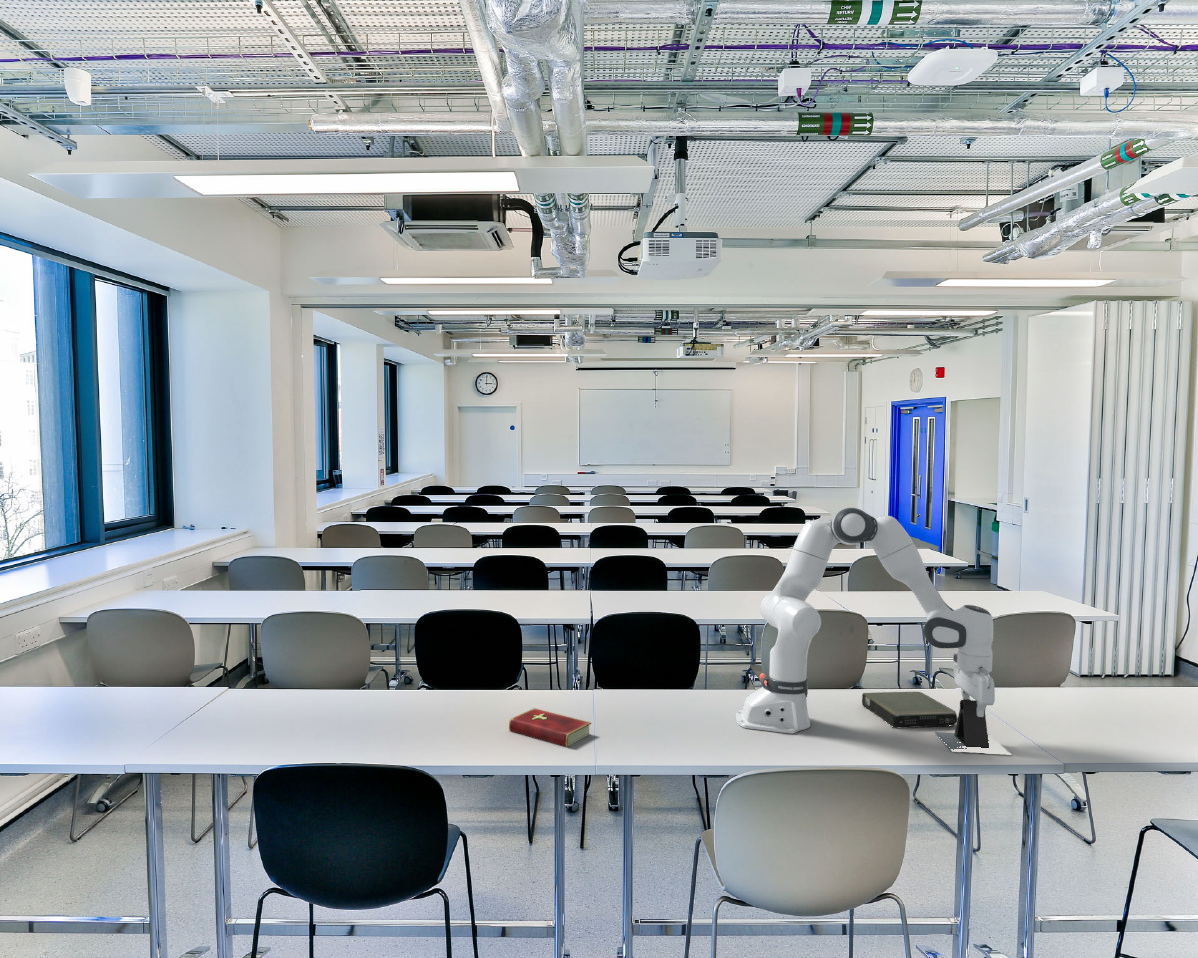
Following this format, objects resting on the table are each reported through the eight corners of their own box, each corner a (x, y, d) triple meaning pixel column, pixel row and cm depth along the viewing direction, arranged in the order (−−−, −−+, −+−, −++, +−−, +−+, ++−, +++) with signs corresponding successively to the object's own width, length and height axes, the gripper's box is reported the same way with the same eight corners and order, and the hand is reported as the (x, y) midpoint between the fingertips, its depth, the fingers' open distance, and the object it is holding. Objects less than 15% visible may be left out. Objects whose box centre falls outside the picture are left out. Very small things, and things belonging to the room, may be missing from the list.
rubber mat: (952, 752, 209) (952, 750, 209) (934, 733, 223) (934, 731, 223) (1012, 755, 207) (1012, 753, 207) (990, 736, 221) (990, 734, 221)
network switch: (915, 702, 252) (915, 687, 252) (965, 727, 229) (966, 711, 229) (854, 707, 246) (855, 692, 246) (900, 733, 224) (900, 717, 223)
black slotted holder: (988, 748, 210) (990, 706, 210) (967, 747, 211) (968, 705, 210) (975, 736, 219) (976, 696, 219) (954, 735, 220) (955, 695, 219)
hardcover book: (567, 749, 207) (567, 734, 207) (508, 732, 219) (509, 718, 219) (590, 735, 218) (591, 721, 217) (534, 720, 229) (534, 706, 229)
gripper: (1002, 673, 203) (1000, 723, 204) (972, 653, 224) (970, 699, 224) (978, 672, 204) (976, 722, 204) (950, 652, 224) (948, 698, 225)
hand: (972, 710), depth 214 cm, fingers open, 8 cm apart
